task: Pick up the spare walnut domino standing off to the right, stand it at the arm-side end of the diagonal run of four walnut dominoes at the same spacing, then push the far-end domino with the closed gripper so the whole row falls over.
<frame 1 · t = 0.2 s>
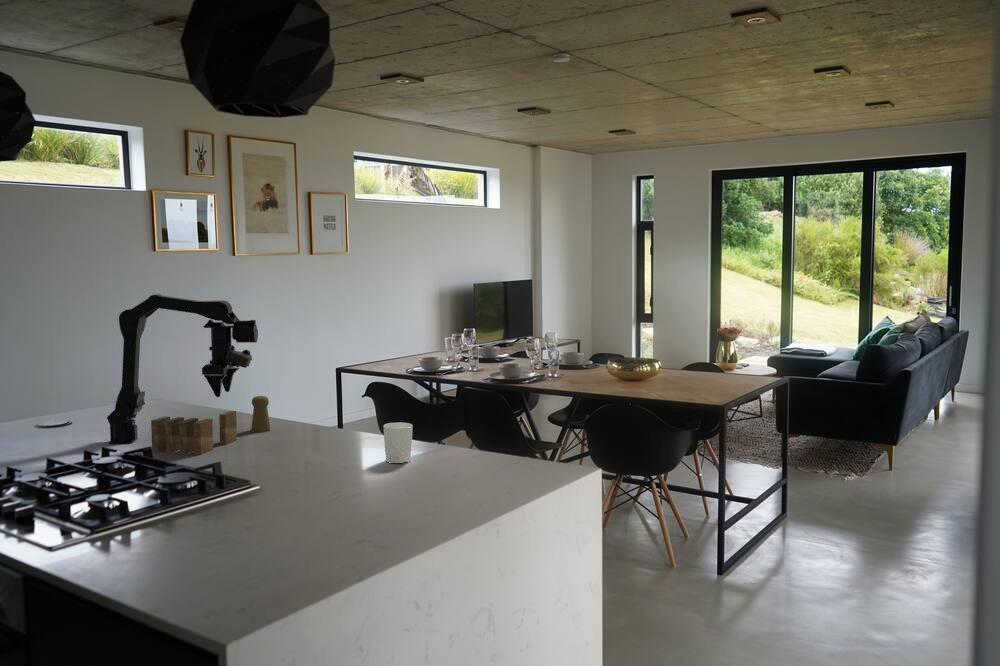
hand: (222, 394, 240), 14 cm above the counter, fingers open, 9 cm apart
walnut domino 2: (189, 451, 228), on the counter
walnut domino 1: (204, 452, 227), on the counter
olive yellow rounded piece: (260, 430, 255), on the counter
walnut domino 4: (161, 449, 229), on the counter
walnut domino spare: (228, 442, 239), on the counter
white cup: (398, 461, 219), on the counter
walnut domino 3: (175, 450, 229), on the counter
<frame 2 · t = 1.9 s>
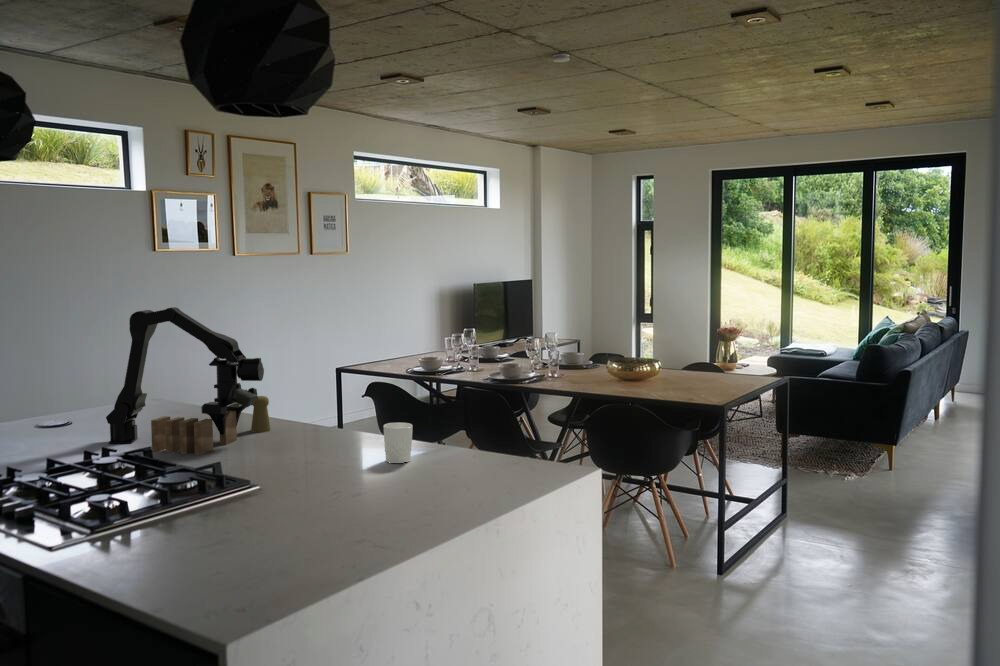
hand: (228, 432, 238), 3 cm above the counter, fingers closed on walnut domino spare, 6 cm apart
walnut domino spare: (228, 442, 239), on the counter, touching gripper
everything else where it was.
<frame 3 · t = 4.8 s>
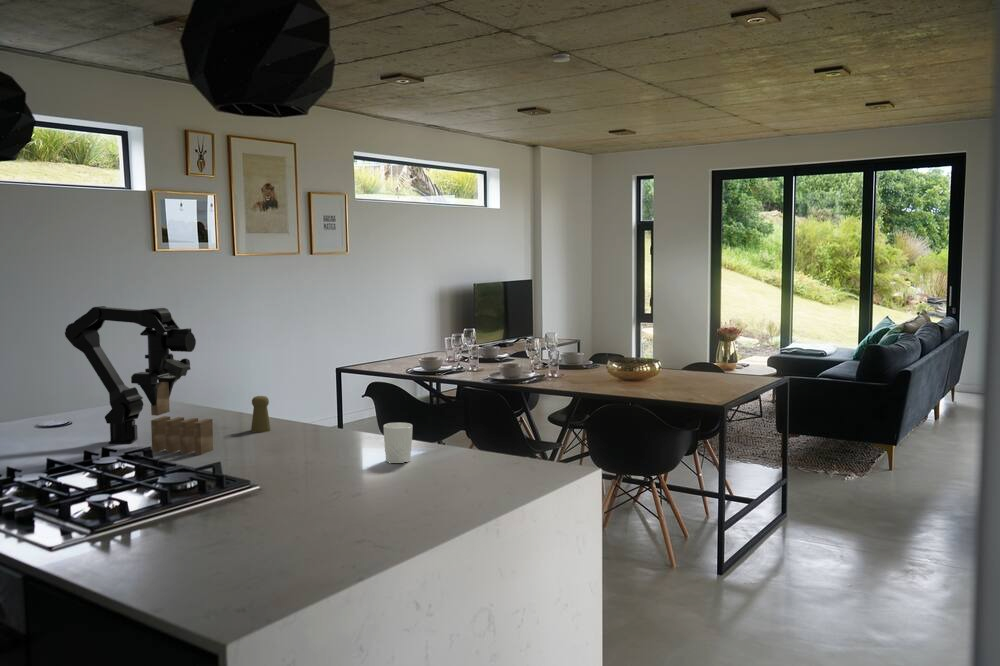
hand: (160, 403, 235), 12 cm above the counter, fingers closed on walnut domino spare, 6 cm apart
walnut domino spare: (160, 413, 236), point 9 cm above the counter, touching gripper
everything else where it was.
when the fingers open (4 cm above the counter, at t = 7.6 s): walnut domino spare drops 1 cm, on the counter.
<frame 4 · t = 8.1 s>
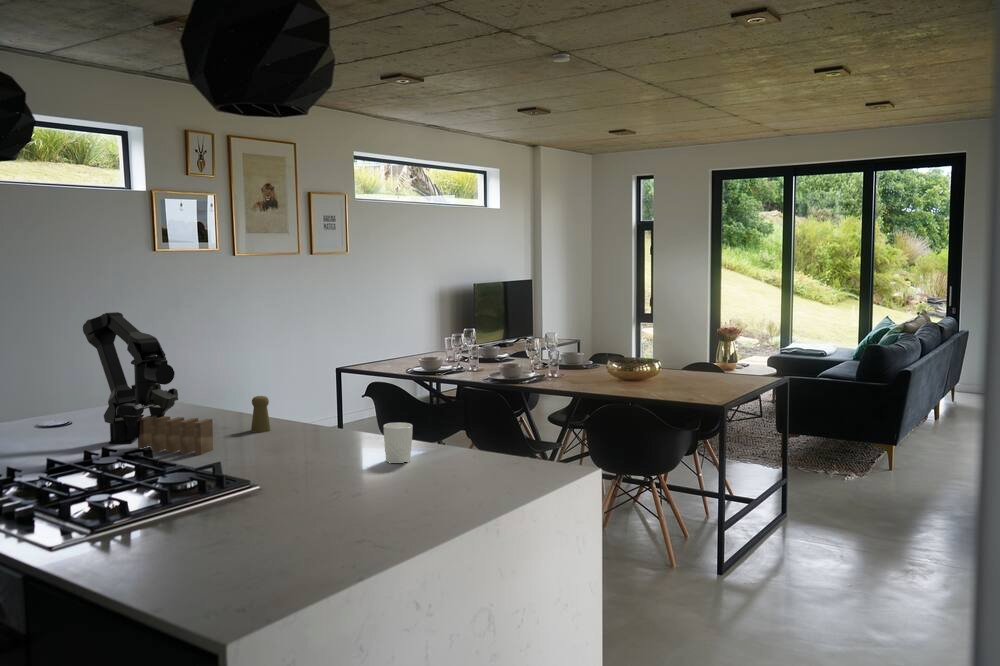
hand: (147, 434, 230), 4 cm above the counter, fingers open, 9 cm apart
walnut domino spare: (147, 448, 230), on the counter
everything else where it was.
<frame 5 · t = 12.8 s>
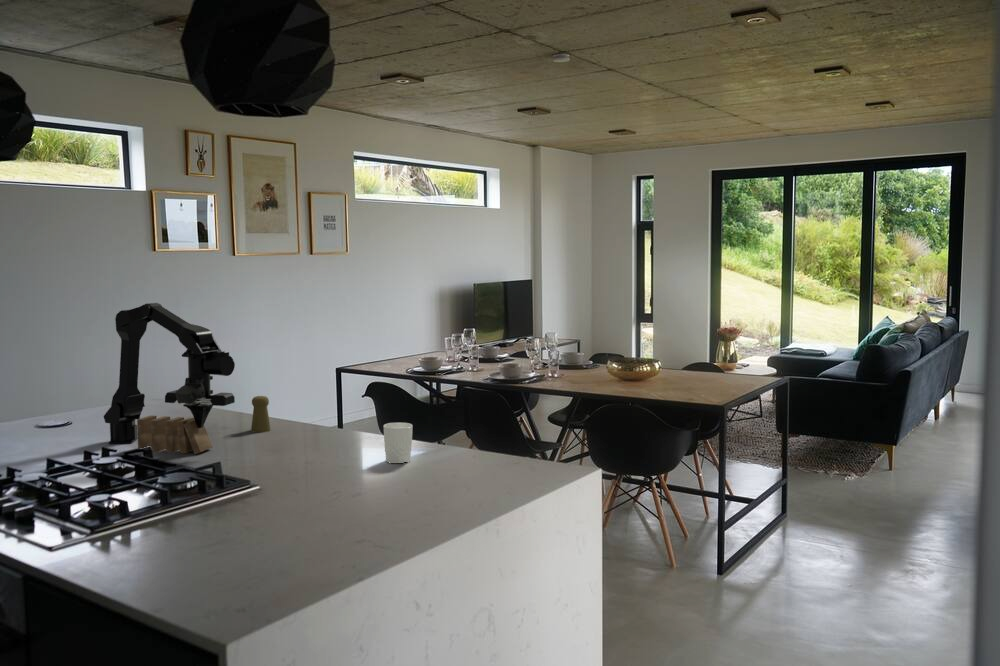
hand: (200, 427, 226), 7 cm above the counter, fingers closed
walnut domino 2: (189, 450, 228), on the counter, tilted 6°
walnut domino 1: (203, 450, 227), on the counter, tilted 22°
everything else where it was.
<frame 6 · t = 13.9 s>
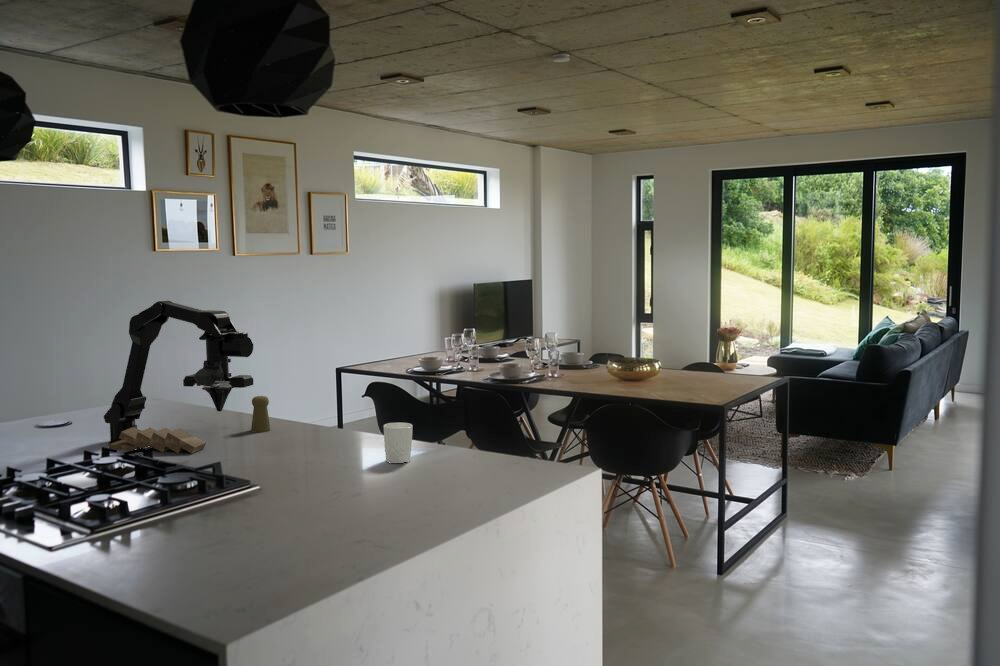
hand: (219, 411, 224), 12 cm above the counter, fingers closed
walnut domino 2: (185, 447, 228), point 1 cm above the counter, tilted 65°, touching walnut domino 1, walnut domino 3
walnut domino 1: (199, 448, 227), point 1 cm above the counter, tilted 65°, touching walnut domino 2
walnut domino 4: (153, 445, 230), point 1 cm above the counter, tilted 67°
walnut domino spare: (143, 447, 230), on the counter, tilted 90°
walnut domino 3: (169, 446, 229), point 1 cm above the counter, tilted 65°, touching walnut domino 2
everything else where it was.
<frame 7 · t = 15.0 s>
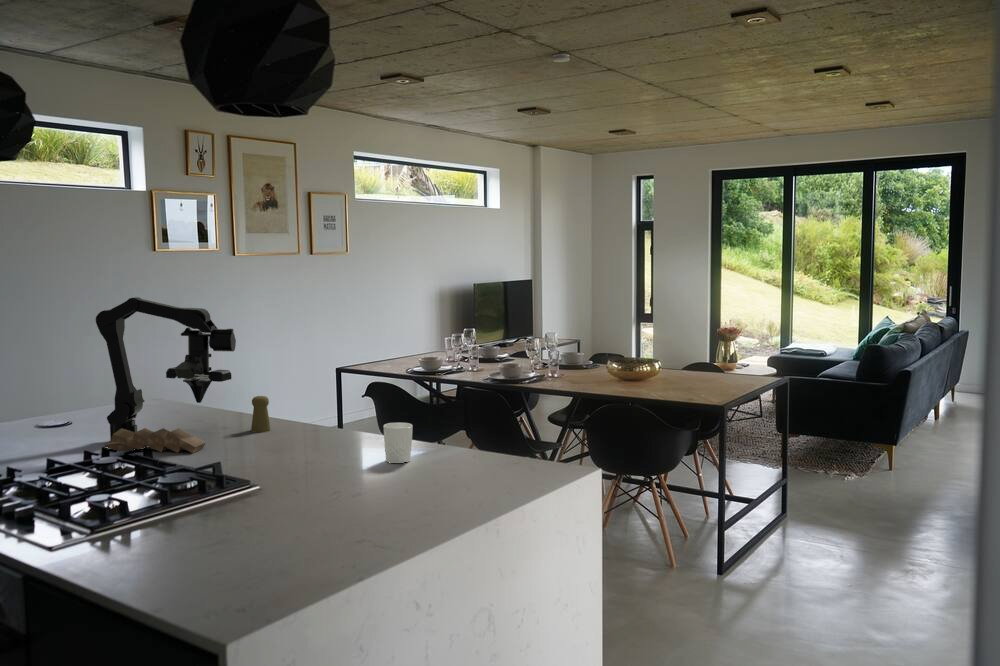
hand: (198, 402, 239), 12 cm above the counter, fingers closed
walnut domino 1: (199, 447, 228), point 1 cm above the counter, tilted 65°, touching walnut domino 2
walnut domino 4: (147, 444, 229), point 1 cm above the counter, tilted 72°, touching walnut domino 3, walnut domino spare
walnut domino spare: (139, 446, 230), on the counter, tilted 90°, touching walnut domino 4
walnut domino 3: (167, 446, 229), point 1 cm above the counter, tilted 66°, touching walnut domino 2, walnut domino 4
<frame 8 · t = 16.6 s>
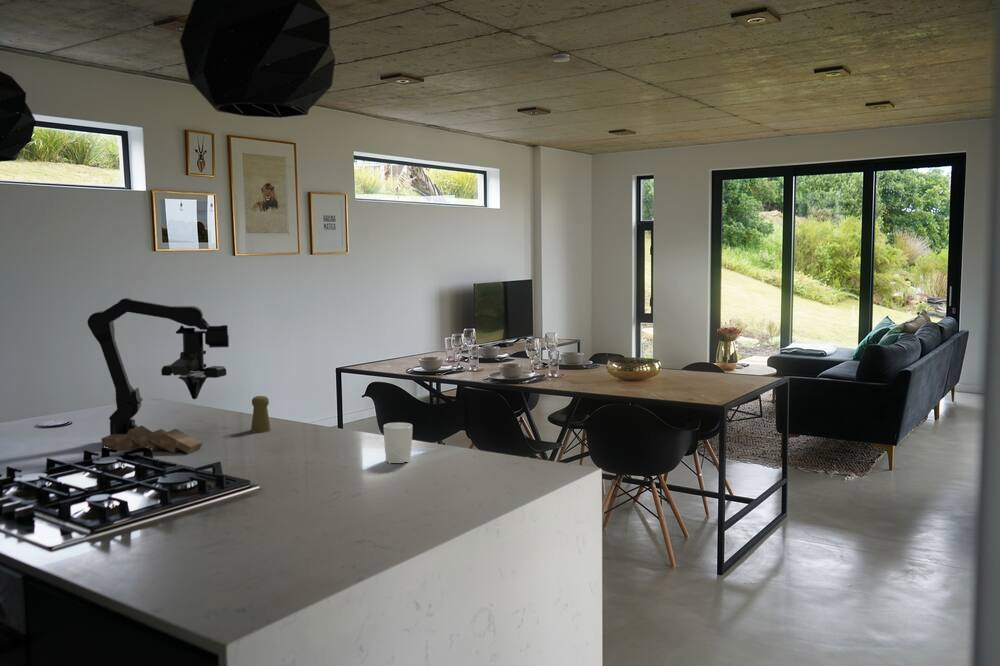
hand: (194, 399, 243), 12 cm above the counter, fingers closed
walnut domino 2: (180, 447, 228), point 1 cm above the counter, tilted 68°, touching walnut domino 1
walnut domino 4: (137, 440, 230), point 2 cm above the counter, tilted 90°, touching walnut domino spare
walnut domino 3: (159, 446, 229), point 1 cm above the counter, tilted 62°
at the end: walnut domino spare tilted 90°; walnut domino 3 tilted 63°; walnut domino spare inside the target area (2.1 cm from its centre), on the counter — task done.
